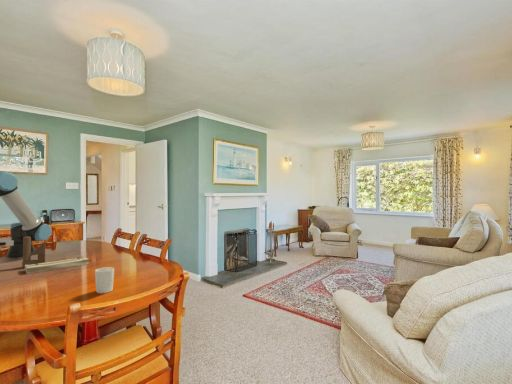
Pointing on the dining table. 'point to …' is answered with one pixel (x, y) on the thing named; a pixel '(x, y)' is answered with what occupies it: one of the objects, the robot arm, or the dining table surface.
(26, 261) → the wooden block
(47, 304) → the dining table surface
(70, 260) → the maple board
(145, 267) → the dining table surface
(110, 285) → the white cup
